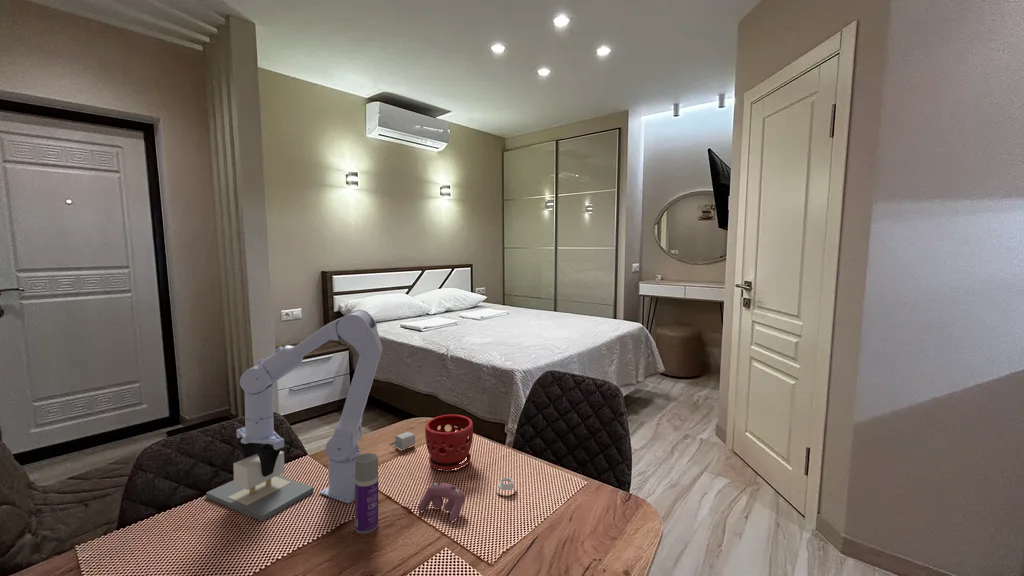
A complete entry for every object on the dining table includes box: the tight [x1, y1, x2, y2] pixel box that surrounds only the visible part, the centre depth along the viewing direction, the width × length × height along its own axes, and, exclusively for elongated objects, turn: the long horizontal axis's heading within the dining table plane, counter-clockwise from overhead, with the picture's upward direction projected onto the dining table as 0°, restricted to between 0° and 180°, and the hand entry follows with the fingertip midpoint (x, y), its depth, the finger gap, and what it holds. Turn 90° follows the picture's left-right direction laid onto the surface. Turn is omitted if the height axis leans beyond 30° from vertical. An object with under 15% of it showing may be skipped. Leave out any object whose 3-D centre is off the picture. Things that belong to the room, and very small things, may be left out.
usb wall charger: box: [388, 431, 416, 450], centre depth 125 cm, size 4×7×4 cm, turn 137°
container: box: [354, 452, 379, 534], centre depth 88 cm, size 5×5×15 cm
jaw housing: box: [232, 450, 285, 490], centre depth 99 cm, size 5×9×5 cm, turn 155°
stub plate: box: [205, 474, 314, 522], centre depth 99 cm, size 20×13×3 cm, turn 65°
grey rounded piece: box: [497, 477, 516, 490], centre depth 103 cm, size 5×3×5 cm
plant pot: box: [424, 414, 474, 470], centre depth 116 cm, size 13×13×12 cm
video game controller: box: [418, 482, 466, 523], centre depth 95 cm, size 10×5×7 cm, turn 66°
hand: (260, 471), depth 99 cm, fingers closed on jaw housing, 5 cm apart
